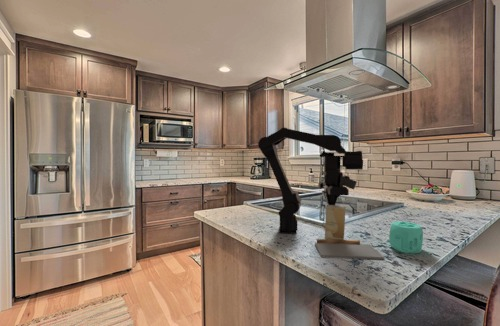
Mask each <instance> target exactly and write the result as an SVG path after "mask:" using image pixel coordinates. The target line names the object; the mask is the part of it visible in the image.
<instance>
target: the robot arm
mask: <svg viewBox="0 0 500 326" xmlns="http://www.w3.org/2000/svg"><path fill="white" fill-rule="evenodd" d="M287 139H289V140H293V141H298V142H302V143H306V144H312V145H315V146H317V147H320V148H322V149H325V150H326V151H330V152H326V151H325V150H323V151H322V153H321V154H319V157H320V158H324V163H323V164H324V166H323V167H324V168H323V169H324V170H323V171H322V174H323V181H319V183H318V184H317V188H318V189H319V190H322V189H323V190H322V191H321V193H322V195H323V197H324V199H325V201H326V204H327V205H336V204H337V201H338V199H339V197H340V196H349V194H350V193H349V189H351V190H355V188H356V185H357V182H358V181H356V180H353V179H351V178H350V176H348V175H344V173H343V172H342V171H341V166H342V167H344V168H345V170H350V171H351V170H357V171H358V170H359V171H363V169H364V168H363V167H364V159H363V151H362V150H357V151H346V148H344V146H342V140H341V138H340V137H339V136H337V135H334V134H314V133H309V132H305V131H299V130H295V129H290V128H288V127H281V128H280V129H279V130H277V131H275V132H273V133H271V134H269V135H268V136H262V137H261V138H260V139H259V140H258V143H257V146H258V148H259V150H260V151H261V153H262V154H263V156H264V157H265V158H266V159H267V162H269V163H268V164H269V165H270V168H271V170H272V172H273V176H274V177H275V180H276V182H277V184H278V187H279V190H280V192H281V197H282V204H283V207H282V208H281V209H280V210H279V211H278V216H279V227H278V230H279V233H280V234H297V231H298V219H297V216H296V213H297V212H299V211H300V208H301V206H302V200H303V199H302V198H301V197H300V195H299V191H298V190H296V191H295V190H293V188H292V187H291V185H290V182H289V180H288V178H287V175H286V172H285V170H284V168H283V166H282V163H281V160H280V159H279V156H278V155H279V154H278V147H277V146H278V145H280V143H282V142H284V141H285V140H287ZM335 152H336V153H337V154H339V155H335ZM341 158H342V159H341ZM341 162H342V163H341Z"/></svg>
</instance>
